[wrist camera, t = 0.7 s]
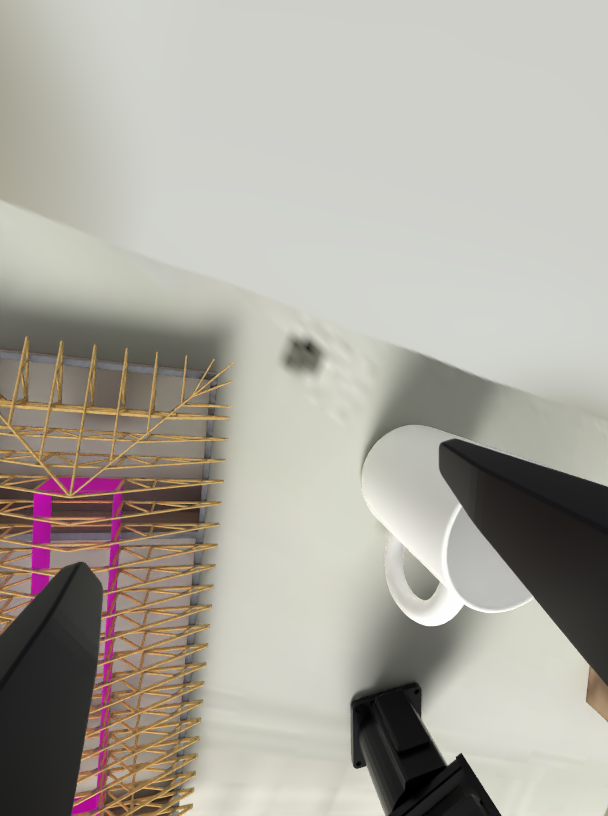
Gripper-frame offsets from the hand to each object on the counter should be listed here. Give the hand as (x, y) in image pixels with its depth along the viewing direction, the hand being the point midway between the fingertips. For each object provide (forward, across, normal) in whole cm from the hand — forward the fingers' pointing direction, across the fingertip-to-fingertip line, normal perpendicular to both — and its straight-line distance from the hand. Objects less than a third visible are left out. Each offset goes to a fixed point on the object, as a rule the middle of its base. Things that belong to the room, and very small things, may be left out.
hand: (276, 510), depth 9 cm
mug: (+13, -9, +15) cm, 21 cm away
